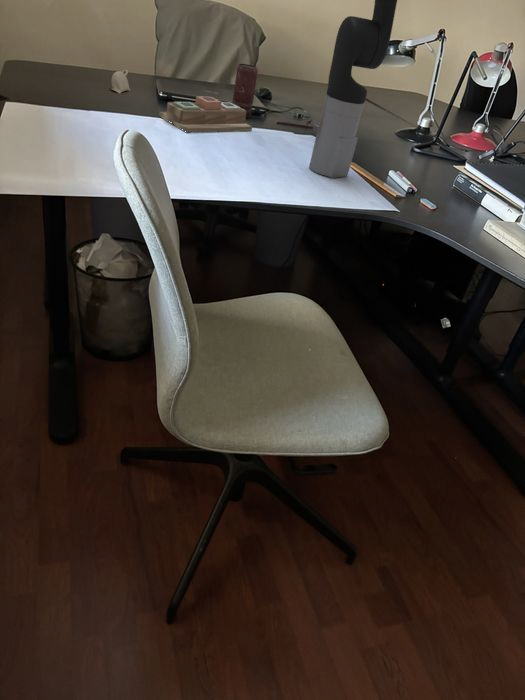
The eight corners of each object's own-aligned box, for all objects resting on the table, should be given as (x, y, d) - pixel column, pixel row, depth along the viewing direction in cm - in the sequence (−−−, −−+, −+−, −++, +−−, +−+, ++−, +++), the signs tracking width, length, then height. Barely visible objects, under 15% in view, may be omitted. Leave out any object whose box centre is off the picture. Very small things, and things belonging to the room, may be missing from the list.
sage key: (198, 117, 140) (199, 106, 139) (183, 117, 137) (184, 106, 136) (188, 111, 143) (189, 101, 141) (173, 111, 140) (173, 100, 138)
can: (248, 120, 158) (256, 69, 149) (228, 115, 158) (235, 64, 150) (253, 116, 163) (261, 67, 154) (233, 111, 163) (240, 62, 155)
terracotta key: (220, 111, 144) (221, 101, 142) (205, 111, 141) (206, 100, 139) (210, 106, 146) (211, 95, 145) (195, 106, 143) (196, 95, 142)
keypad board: (251, 131, 149) (254, 114, 146) (186, 133, 135) (188, 114, 133) (223, 115, 156) (225, 100, 154) (158, 116, 143) (159, 98, 140)
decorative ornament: (106, 90, 155) (107, 70, 152) (122, 87, 162) (122, 68, 159) (118, 94, 155) (119, 74, 152) (133, 90, 161) (134, 71, 158)
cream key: (239, 116, 149) (240, 106, 147) (225, 117, 146) (226, 106, 144) (229, 111, 151) (230, 101, 150) (215, 111, 148) (216, 101, 147)
